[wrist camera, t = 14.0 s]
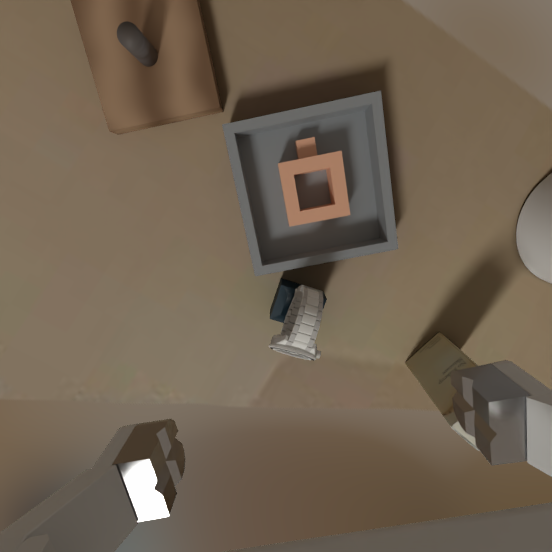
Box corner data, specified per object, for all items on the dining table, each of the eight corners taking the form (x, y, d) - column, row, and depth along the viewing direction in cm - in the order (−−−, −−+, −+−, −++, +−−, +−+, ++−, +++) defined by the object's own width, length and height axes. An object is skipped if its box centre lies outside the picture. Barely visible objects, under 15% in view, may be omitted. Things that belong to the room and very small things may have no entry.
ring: (333, 134, 36) (338, 129, 33) (344, 213, 38) (350, 215, 35) (274, 147, 37) (274, 143, 34) (288, 224, 39) (289, 226, 36)
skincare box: (438, 330, 42) (500, 383, 31) (461, 351, 43) (531, 410, 31) (402, 363, 44) (449, 427, 32) (425, 383, 44) (479, 453, 32)
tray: (371, 100, 36) (380, 90, 33) (387, 244, 40) (398, 248, 36) (227, 131, 37) (222, 124, 33) (257, 269, 41) (255, 276, 37)
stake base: (195, -16, 33) (176, -65, 27) (223, 111, 36) (211, 94, 30) (82, 11, 34) (38, -30, 28) (118, 134, 37) (85, 122, 31)
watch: (265, 323, 42) (261, 367, 32) (285, 264, 40) (288, 290, 30) (307, 336, 43) (316, 383, 32) (328, 278, 41) (346, 308, 30)
